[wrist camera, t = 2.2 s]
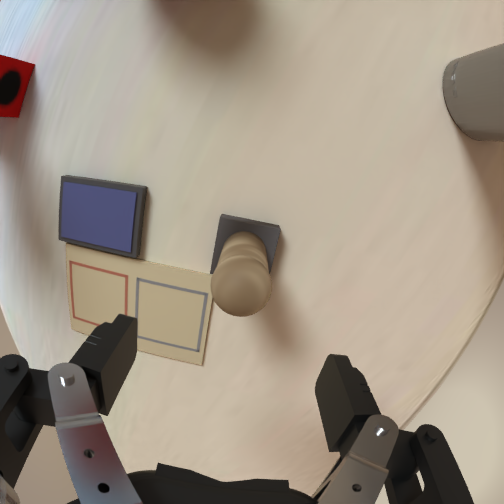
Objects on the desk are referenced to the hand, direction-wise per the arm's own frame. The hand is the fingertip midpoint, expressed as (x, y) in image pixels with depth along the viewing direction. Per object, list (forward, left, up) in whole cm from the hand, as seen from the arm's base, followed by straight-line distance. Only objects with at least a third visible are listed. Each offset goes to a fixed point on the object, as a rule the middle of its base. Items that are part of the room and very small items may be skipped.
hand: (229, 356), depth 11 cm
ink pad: (+14, 0, -15) cm, 21 cm away
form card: (+10, +9, -15) cm, 20 cm away
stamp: (0, 0, -15) cm, 15 cm away
